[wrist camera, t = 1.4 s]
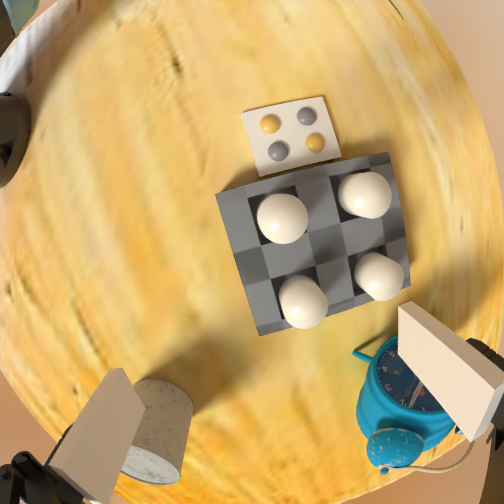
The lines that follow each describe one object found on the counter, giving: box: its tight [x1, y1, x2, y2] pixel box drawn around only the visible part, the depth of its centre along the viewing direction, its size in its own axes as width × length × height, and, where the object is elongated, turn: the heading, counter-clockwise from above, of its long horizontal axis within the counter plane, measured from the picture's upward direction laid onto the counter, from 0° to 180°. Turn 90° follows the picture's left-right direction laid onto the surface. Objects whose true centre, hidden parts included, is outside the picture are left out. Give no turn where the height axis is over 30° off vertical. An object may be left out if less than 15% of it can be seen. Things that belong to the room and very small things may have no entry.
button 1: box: [256, 194, 308, 244], centre depth 23 cm, size 4×4×4 cm
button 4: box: [354, 252, 404, 302], centre depth 24 cm, size 4×4×4 cm
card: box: [240, 97, 342, 177], centre depth 26 cm, size 7×9×1 cm
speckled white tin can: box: [120, 379, 194, 485], centre depth 27 cm, size 10×10×12 cm
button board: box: [215, 152, 411, 336], centre depth 27 cm, size 15×18×3 cm
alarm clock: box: [352, 335, 475, 475], centre depth 23 cm, size 17×10×20 cm, turn 97°
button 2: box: [279, 275, 328, 329], centre depth 25 cm, size 4×4×4 cm
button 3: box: [338, 172, 392, 219], centre depth 23 cm, size 4×4×4 cm
